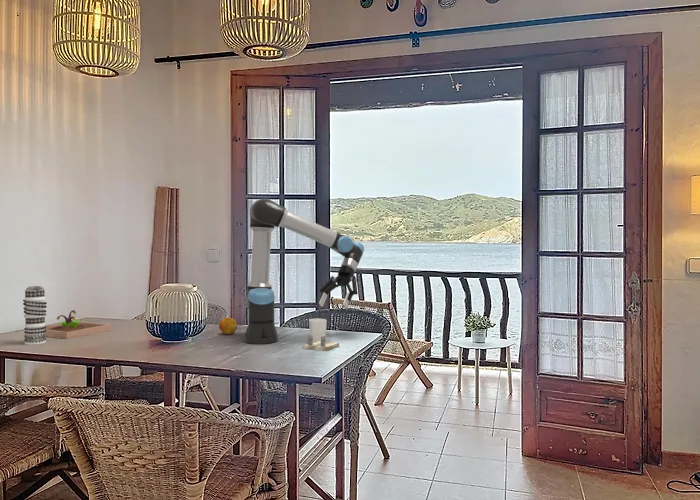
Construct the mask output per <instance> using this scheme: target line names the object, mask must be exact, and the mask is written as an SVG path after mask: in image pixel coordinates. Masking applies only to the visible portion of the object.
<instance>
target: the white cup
mask: <svg viewBox="0 0 700 500" xmlns="http://www.w3.org/2000/svg"><path fill="white" fill-rule="evenodd" d="M308 323H309V324H308V325H309V335H313V341H321V336H325V337H326V336H327V324H328V323H327V319H326V318H310V319H309V320H308ZM326 339H327V337H326V338H325V341H327V340H326Z"/></svg>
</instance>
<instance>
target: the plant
mask: <svg viewBox="0 0 700 500" xmlns="http://www.w3.org/2000/svg"><path fill="white" fill-rule="evenodd" d="M72 314H73V315H74V314H77V311H76V310H74V309H73V310H70V312H69V314H68V317H67V316H66V315H64V314H61V315H59V316H57V317H56V320H57V321H59V320H60V319H61V317H63V318H64V320H63V321H59V324H62V327H61V326H59V327H53V328H51V329H47V330H54V331H64V332H70V331H75V330H81V329H86V328H92V327H91V326H83V325H78V324H79V322H81V320H78V321H76V317H75V316H73V315H72ZM75 321H76V322H75Z"/></svg>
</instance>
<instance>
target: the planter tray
mask: <svg viewBox="0 0 700 500" xmlns="http://www.w3.org/2000/svg"><path fill="white" fill-rule="evenodd" d="M75 322H77V321H76V320H75ZM78 325H83V326H91V327H92V328H86V329H81V330H75V331H70V332H64V331H54V330H47V329H51V328H53V327H59V326H61V327H62V324H61V323H57V324H52V325H45V326H46V328H45V330H46V332H45V333H46V336H45V337H46V338H57V339H65V340H69V339H74V338H79V337H83V336H89V335H94V334H95V335H96V334H99V333H105V332H110V331H111V324H107V323H98V322H97V323H96V322H95V323H94V322H86V321H84V322H83V321H80V322H79V324H78Z"/></svg>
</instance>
